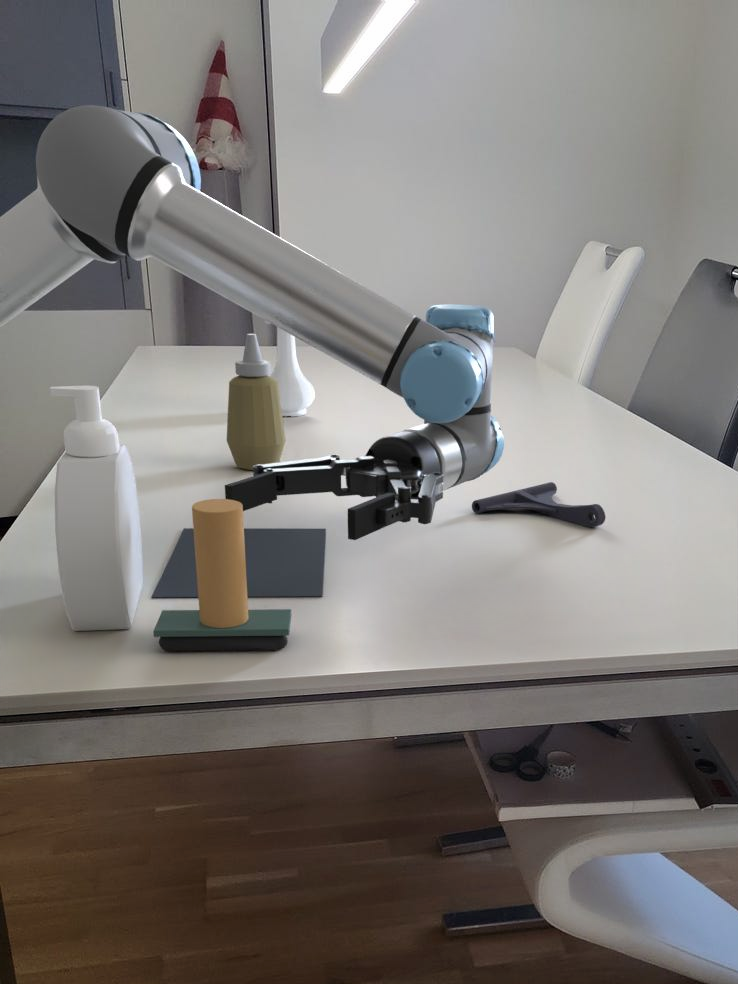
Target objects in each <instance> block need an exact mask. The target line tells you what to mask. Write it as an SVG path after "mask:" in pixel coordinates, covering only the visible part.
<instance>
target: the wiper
mask: <svg viewBox="0 0 738 984" xmlns="http://www.w3.org/2000/svg"><path fill="white" fill-rule="evenodd" d="M191 514H192V527H193V529H194V543H195V557H196V571H197V584H198V598H197V599H198V609H171V610H170V609H168V610H167V609H165V610H164V609H162V610H161V612H160V614H159V617H158V619H157V621H156V624H155V626H154V628H153V637H154V638H158V645H159V648H160V649H161V650H163V651H165V652H215V651H217V652H218V651H222V652H223V651H224V652H225V651H229V652H230V651H280V650H283V649H285V648H286V647H287V644H288V641H289V640H288V636H290V630H291V623H292V614H293V613H292V608H291V609H290V608H289V609H288V608H286V609H285V608H281V609H280V608H279V609H274V608H273V609H270V608H269V609H249V602H248V601H249V600H248V598H249V597H247V580H246V561H245V542H244V528H245V525H244V523H245V522H244V511H243V505H242V504H241V503H240V502H238V501H235V500H229V499H225V498H211V499H204V500H203V499H202V500H200V501H197V502H194V503H193V504H192V505H191Z"/></svg>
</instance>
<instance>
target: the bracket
mask: <svg viewBox="0 0 738 984" xmlns="http://www.w3.org/2000/svg"><path fill="white" fill-rule="evenodd" d="M557 491H558V486H557V485H556V483H554V482H553V481H550V482H545V483H542V484H538V485H533V486H529V487H525V488H520V489H517V490H512V491H508V492H504V493H500V494H495V495H492V496H488V497H483V498H479V499H475V500H473V501H472V502H471V510H472V511H473V513H475V514H481V513H485V512H486V513H487V512H490V511H497V510H529V511H532V512H536V513H538V514H542V515H546V516H550V517H553V518H556V519H560V520H563V521H567V522H571V523H574V524H578V525H580V526H583V527H587V528H595V527H599V526H602V525H604V523H605V521H606V512H605V510H604V508H603V507H602V506H601V505H600V504H599V503H593V504H580V505H579V504H578V505H577V504H575V505H574V504H573V505H572V504H565V503H564V504H563V503H557V502H556V501H555V500H553V496H555V494H557Z"/></svg>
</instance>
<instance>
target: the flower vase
mask: <svg viewBox="0 0 738 984" xmlns="http://www.w3.org/2000/svg"><path fill="white" fill-rule="evenodd" d="M263 321H264V323H265V324H266V325H272V324H271V323H269V322H268V321H266V320H264V319H263ZM276 341H277V342H276V359H275V365H274V367H273V371H272V373H271V374H270V375H269V377H272V378H273V379H275V380H276V381H277V382H278V388H279V396H280V403H281V410H282V417H287V416H291V417H300V416H304V415H306V414H307V408H309V407H311V405H312V403H313V402H314V401H315V398H316V391H315V388H314V386H313V384H312V383H311V382H310V381H309V380H308V379H307V378H306V376H305V375H304V374H303V372H302V370H301V367H300V365H299V362H298V355H297V347H296V337H295V336H293V335H291V334H289V333H287V332H286V331H284V330H282V329H280V328H278V327H277V326H276Z"/></svg>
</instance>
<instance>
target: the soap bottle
mask: <svg viewBox="0 0 738 984" xmlns="http://www.w3.org/2000/svg"><path fill="white" fill-rule="evenodd" d="M49 390H50V397H66V398H73V399H74V401H73V402H74V409H75V418H76V419H73V420H71V421H70V422H69V423H68V424H67V425H66V426H65V428H64V430H63V443H64V450H65V451H64V453H63V454H62V455H61V457H60V459H59V460H58V462H57V464H56V474H55V485H54V486H55V487H54V534H55V544H56V555H57V565H58V566H57V567H58V575H59V580H60V587H61V592H62V593H61V594H62V598H63V599H62V600H63V605H64V609H65V612H66V616H67V618H68V622H69V626H70V628H71V630H72V631H73V632H87V631H89V632H90V631H115V630H130V629H131V628H132V626H133V622H134V618H135V615H136V612H137V607H138V603H139V599H140V597H141V593H142V588H143V585H144V573H143V572H144V570H143V569H144V568H143V567H144V566H143V547H142V546H143V545H142V544H143V543H142V531H141V529H142V528H141V515H140V507H139V500H138V489H137V483H136V478H135V473H134V468H133V461H132V458H131V456H130V453H129V451H128V447H127V446H125V445H124V444H120V439H119V434H118V430H117V428H115V425H113V423H111V422H110V421H109V420H107V419H104V418H103V416H102V405H101V397H100V396H101V395H100V387H99V386H96V385H61V386H59V385H58V386H57V385H56V386H55V385H54V386H50V387H49Z"/></svg>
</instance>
